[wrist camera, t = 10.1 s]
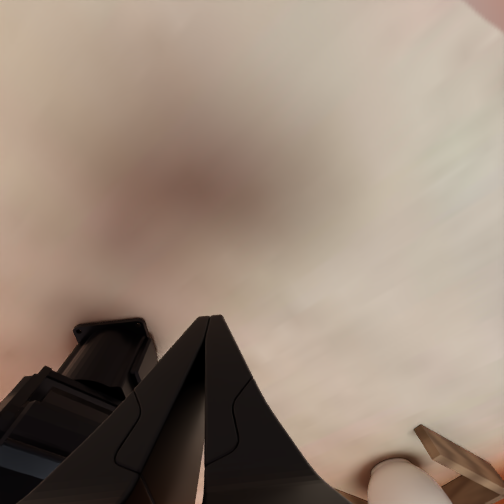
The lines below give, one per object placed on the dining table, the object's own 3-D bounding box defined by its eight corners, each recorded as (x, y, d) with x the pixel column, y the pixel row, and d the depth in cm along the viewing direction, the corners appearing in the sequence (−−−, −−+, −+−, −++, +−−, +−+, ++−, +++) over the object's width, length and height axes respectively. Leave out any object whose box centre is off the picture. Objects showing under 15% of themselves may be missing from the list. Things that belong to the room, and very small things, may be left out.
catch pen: (324, 490, 39) (332, 522, 36) (421, 424, 34) (440, 454, 31) (396, 517, 44) (408, 547, 41) (490, 463, 39) (513, 493, 36)
